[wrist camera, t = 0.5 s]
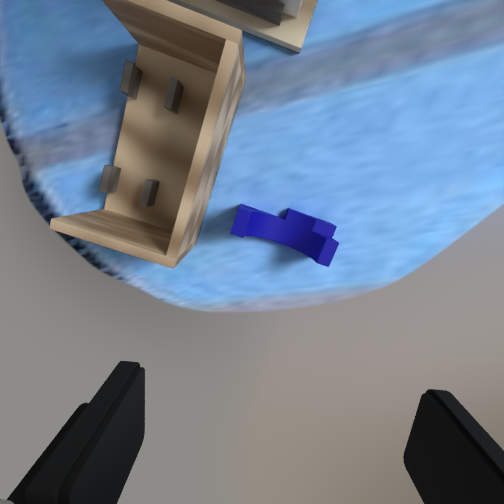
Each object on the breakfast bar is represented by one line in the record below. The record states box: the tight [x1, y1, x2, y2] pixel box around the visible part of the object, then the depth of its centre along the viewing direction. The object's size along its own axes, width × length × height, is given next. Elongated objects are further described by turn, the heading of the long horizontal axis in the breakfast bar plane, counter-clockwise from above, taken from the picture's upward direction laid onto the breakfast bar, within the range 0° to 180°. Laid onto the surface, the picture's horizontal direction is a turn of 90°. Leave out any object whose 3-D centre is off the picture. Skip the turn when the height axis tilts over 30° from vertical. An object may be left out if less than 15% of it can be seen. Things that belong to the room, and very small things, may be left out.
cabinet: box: [50, 0, 246, 269], centre depth 30 cm, size 21×12×11 cm, turn 161°
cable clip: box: [231, 204, 339, 267], centre depth 35 cm, size 12×4×6 cm, turn 71°
